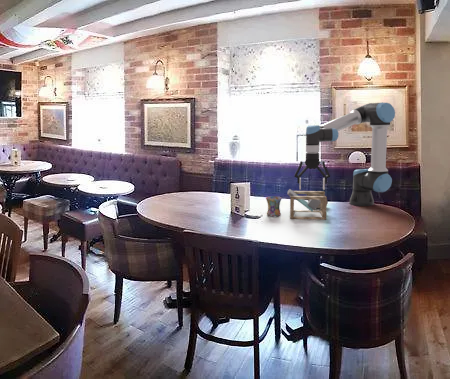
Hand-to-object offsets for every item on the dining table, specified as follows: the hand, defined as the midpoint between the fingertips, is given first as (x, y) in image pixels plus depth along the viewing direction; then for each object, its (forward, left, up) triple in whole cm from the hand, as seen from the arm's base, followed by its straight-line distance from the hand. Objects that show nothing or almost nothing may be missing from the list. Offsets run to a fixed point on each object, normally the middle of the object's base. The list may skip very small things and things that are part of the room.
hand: (311, 189), depth 233 cm
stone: (0, 0, -10) cm, 10 cm away
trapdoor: (+7, 0, -7) cm, 10 cm away
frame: (+2, 0, -16) cm, 16 cm away
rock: (-4, -23, -16) cm, 28 cm away
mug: (+22, 0, -16) cm, 27 cm away
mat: (+2, 0, -16) cm, 16 cm away
